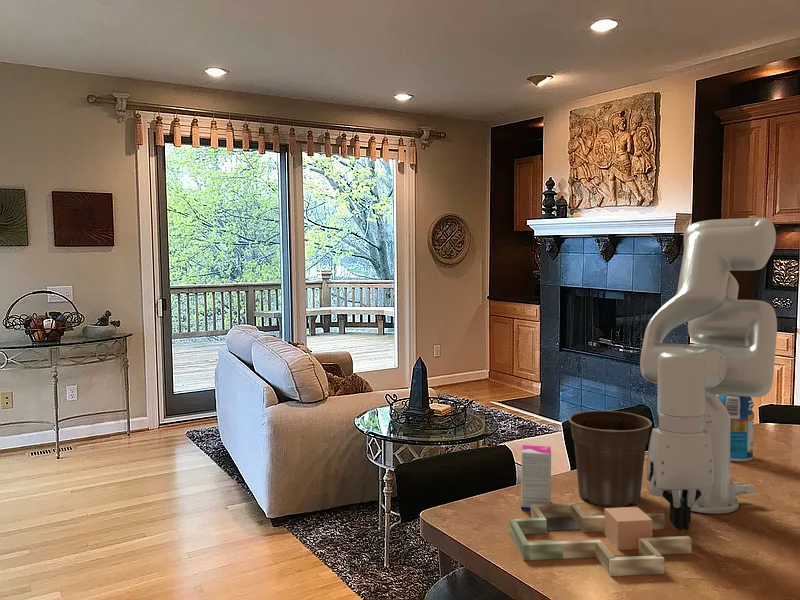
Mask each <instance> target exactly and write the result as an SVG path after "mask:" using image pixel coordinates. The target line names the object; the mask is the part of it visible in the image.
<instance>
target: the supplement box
mask: <svg viewBox="0 0 800 600" xmlns="http://www.w3.org/2000/svg"><path fill="white" fill-rule="evenodd" d="M520 479H521V481H520V483H521V485H520V510H521V509H523V510H522V511H531V505H534V504H552V502H551V498H552V497H551V496H552V493H551V492H552V490H551V489H552V449H551V446H547V445H546V446H545V445H529V444H528V445H527V444H523V445H522V446H521V478H520Z"/></svg>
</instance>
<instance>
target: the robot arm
mask: <svg viewBox="0 0 800 600" xmlns="http://www.w3.org/2000/svg"><path fill="white" fill-rule="evenodd" d="M776 239H777V233H776V228H775V225H774V223H773V222H772V220H770V219H769V218H766V217H746V218H725V219H724V218H720V219H717V218H716V219H708V220H702V221H701V220H700V221H697V222H694V223H691V224H690V225H688V226H687V227H686V229H685V231H684V233H683V255H682V260H681V266H680V272H679V278H678V279H679V280H678V285H677V292H676V294H674V296H673V297H671V298H670V299H668V301H666V302H665V303H664V304H663V305H662V306H661V307H660V308H659V309H658V310H657V311H656V312H655V313H654V315H653V316H652V317H651V318H650V320H649V321H648V323H647V326H646V328H645V330H644V335H643V341H642V347H641V352H640V359H639V360H640V361H639V366H640V367H639V368H640V373H641V375H642V377H643V379H644V380H646V381H648V382H649V383H653V384H657V411H656V413H657V416H656V417H657V418H656V422H657V423H656V424H657V425H656V426H657V427H656V428H655V427H653V428H652V430H651V432H650V433H651V434H650V438H649V441H648V450H647V458H646V479H647V482H650V483H649V487H648V493H650V494H651V496H654V497H655V496H656V497H659V498H660V497H661V498H663V499H665V500H666V502H668V503H669V521H670V523H671V525H672V526H674V528H676V529H677V531H689V530H690V524H691V520H692V512H696V513H700V514H701V513H702V514H711V515H714V514H715V515H717V514H719V515H720V514H722V515H723V514H729V513H732V512H735V511H736V510H738V509H739V507H740V506H739V503H740V501H739V499H738V497H739V496H740V495H755V493H756V488H755V485H754V484H753V483H746V484H745V483H743V484H742V483H741V482H740V481H739V480H738V481H732V480H731V461H730V427H731V421H730V415H729V413H728V411H727V409H726V407H725V406H724V404H723V403H722V402H721V401H720V399H719V398H718V395H722V394H723V395H734V396H745V397H751V398H761V397H764V396H766V395H768V393H770V390H771V389H772V385H773V381H774V375H775V374H774V373H775V363H776V362H775V360H776V359H775V358H776V348H777V337H778V336H777V335H778V321H777V315H776V311H775V309H774V307H773V306H772V305H771V304H770V303H769V302H766V301H764V300H757V299H738V296H739V290H740V289H739V288H740V287H739V286H740V285H739V283H738V281H737V279H736V277H734V275H733V274H732V272H733V271H757V270H761V269H763V268H764V267H765V266H766V264H767V263H768V262H769V259H770V257H771V256H772V254H773V252H774V250H775V247H776V241H777V240H776ZM731 271H732V272H731ZM685 323H687V331H688V332H687V333H688V336H689V337H690V339H691V340H692V341H693V342H695V343H691V344H686V343H685V344H680V343H666V342H665V343H663V342H664V339H665V338H666V336H667V335H668V334H669V333H670V332H671V331H672V330H673V329H675V328H677V327H679V326H681V325H684V324H685Z"/></svg>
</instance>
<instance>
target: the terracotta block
mask: <svg viewBox="0 0 800 600" xmlns="http://www.w3.org/2000/svg"><path fill="white" fill-rule="evenodd" d="M603 511H604V513H603V514H604V531H603V533H604V534H603V535H604V537H605V538H607V540H608V541H609V542H610V543H611V544H612V545H613V546H614V548H615V549H616V550H617V551H623V550H638V538H652V537H653V529H652V519H651V518H650V517H649V516H647V515H646V514H647V513H645V511H643V510H641V508H639V507H638V506H625V507H606V508H603Z"/></svg>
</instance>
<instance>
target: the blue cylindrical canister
mask: <svg viewBox="0 0 800 600" xmlns="http://www.w3.org/2000/svg"><path fill="white" fill-rule="evenodd" d="M717 397H718V398H719V399H720V401H721V402H722V403H723V404H724V406H725V407H726V409H727V411H728V413H729V415H730V421H731V427H730V462H749V461H751V460H753V458H754V451H753V450H754V419H755V413H754V411H753V408H754V406H755V405H754V400H753V397H745V396H734V395H723V394H722V395H717Z"/></svg>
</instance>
